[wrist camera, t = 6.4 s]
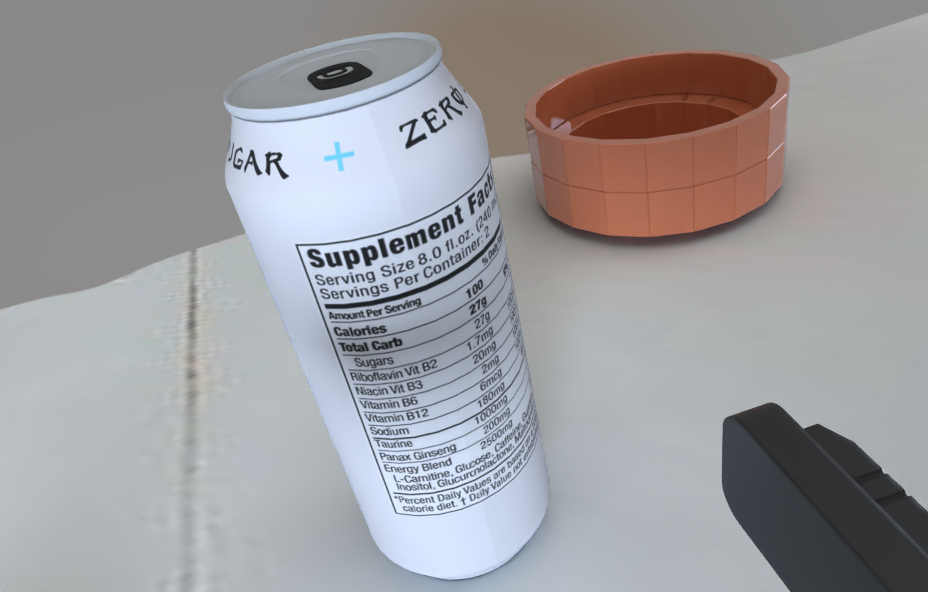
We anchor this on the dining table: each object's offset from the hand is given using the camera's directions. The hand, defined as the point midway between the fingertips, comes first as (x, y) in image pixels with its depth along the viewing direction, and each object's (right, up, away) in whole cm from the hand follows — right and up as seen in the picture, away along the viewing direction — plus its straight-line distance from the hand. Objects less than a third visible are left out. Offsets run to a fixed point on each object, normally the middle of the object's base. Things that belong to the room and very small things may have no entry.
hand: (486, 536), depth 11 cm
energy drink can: (0, -4, +13) cm, 13 cm away
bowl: (+10, +10, +29) cm, 32 cm away
